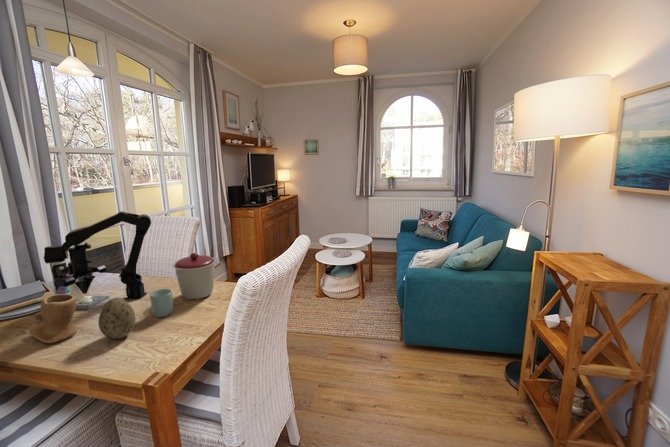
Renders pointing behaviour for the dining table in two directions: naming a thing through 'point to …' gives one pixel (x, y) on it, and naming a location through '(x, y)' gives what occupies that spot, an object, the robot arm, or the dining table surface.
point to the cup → (161, 302)
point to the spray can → (54, 275)
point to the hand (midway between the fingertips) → (84, 293)
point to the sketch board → (95, 302)
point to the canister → (195, 276)
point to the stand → (38, 317)
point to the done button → (86, 301)
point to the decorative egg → (116, 318)
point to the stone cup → (55, 318)
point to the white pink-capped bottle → (76, 291)
